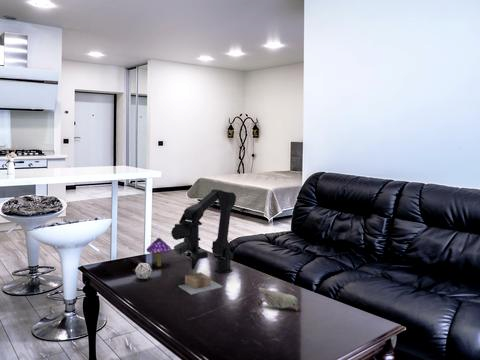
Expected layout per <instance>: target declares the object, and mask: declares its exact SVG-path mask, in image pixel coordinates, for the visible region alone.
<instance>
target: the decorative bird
mask: <svg viewBox="0 0 480 360" xmlns="http://www.w3.org/2000/svg"><path fill="white" fill-rule="evenodd" d="M258 291H259V292H261V296H262V298H263V299H262V300H261V298H259V300H256V301H257V303H258V304H257V305H258V306H259V308H261V305H262V304H263V303H265V304H266V305H268V306H271V307H273V308H277V309H287V308H292V309H293V310H294V311H297V312H298V310H299V304H300V303H299V300H298V298H297V297H296V296H295V295H292V294H289V293H284V292H281V291H276V290H270V289H269V288H268V289H267V288H263V287H258Z"/></svg>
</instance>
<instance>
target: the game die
mask: <svg viewBox="0 0 480 360" xmlns="http://www.w3.org/2000/svg"><path fill="white" fill-rule="evenodd" d="M150 263H151V262H150V261H148V262H141V261H138V265H137V266H136V267H135V269H133V270H132V271H133V272H135V274H136V277H137V278H136V280H137V281H138V280H139V279H141V280H142V279H144V280H147V281H149V277H150V276H151V274H152V273H154V272H155V271H154V270H153V269H152V267H151V264H150Z"/></svg>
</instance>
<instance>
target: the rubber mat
mask: <svg viewBox="0 0 480 360" xmlns="http://www.w3.org/2000/svg"><path fill="white" fill-rule="evenodd" d="M178 288H180V289H182V290H183V291H184V292H186V293H188V295H191V296H193V295H197V294H200V293H205V292H209V291H214V290H218V289H223V288H224V286H223V285H221V284H220V283H218V282H215V280H212V279H210V286H206V287H202V288H197V289H194V288H192V287H191V286H189V285H187V284H186V283H185V284H180V285H178Z"/></svg>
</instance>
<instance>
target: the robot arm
mask: <svg viewBox="0 0 480 360" xmlns="http://www.w3.org/2000/svg"><path fill="white" fill-rule="evenodd" d="M236 200H237V195H236V193H234V192H232V191H224V190H221V189H216V188H215V189H214V188H213V189H211V190H210V192H209V193H208V194H206V195H205V196H204V197H203V198H202V199H201V200H199V201H198V202H197V203H195V204H192V205H190V206H188V207H186V208H185V209H184V211H183V214H182V216H181V218H180V219H179V222H178V223H175V224H174V226H173V227H172V228H171V232H170V233H171V237H172V238H173V239H174V240H175V241H178V240H179V241H180V240H182V239H183V241H182V242H179V243H177V244H176V245H174V246H173V249H174V252H175V253H176V254H177V255H179V256H182V255H184V257H186V258H187V260H188V263H189V267H190V269H191V270H195V268H196V265H198V261H199V260H202V259H208V258H209V252H207V251H206V250H204V249H201V246H200V245H199V244H200V243H199V241H201V237H200V236H199V235H200V233H199V232H200V231H199V229H200V228H199V226H201V225H203V222H201V219H202V218H203V217H204V213H205V211H207V210H208V209H209V208H210V207H211V206H212V205H213V204H214V203H215V202H217V201H218V205H219V208H220V214H219V222H218V231H217V238H216V239H215V241H214V240H213V241H212V245H211V251H212V254H213V258H214V259H216V262H215V268H214V270H215V271H217V272H219V273H221V274H223V273H228V272H232V271H233V269H232V268H231V261H232V260H233V259H234V255H235V254H234V253H233V252H232V251H231V250H230V249H231V247H230V245H231V244H230V241H229V239H228V237H229V231H230V230H229V228H230V219H231V213H232V210H233V208H234V207H235V205H236Z"/></svg>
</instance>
